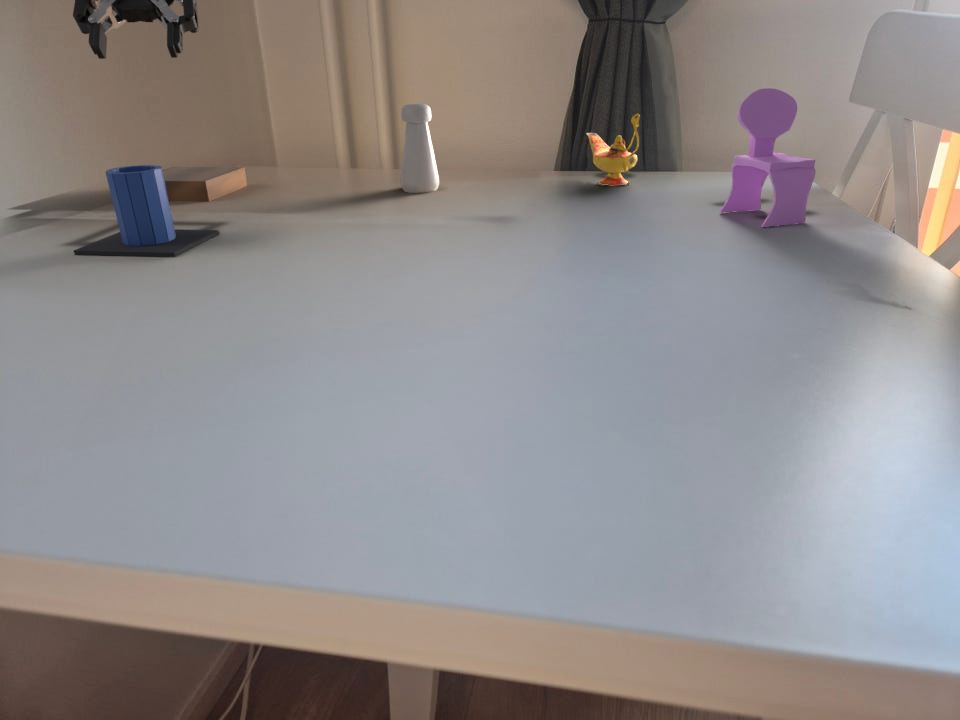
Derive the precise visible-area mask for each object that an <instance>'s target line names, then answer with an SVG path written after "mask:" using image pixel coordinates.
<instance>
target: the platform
mask: <svg viewBox="0 0 960 720" xmlns="http://www.w3.org/2000/svg"><path fill="white" fill-rule="evenodd" d="M245 169H246V168H245V167H244V166H170V167H167V168H164V169H162V172H163V177H164V181H165V186H166V191H167V196H168V200H169V202H199V203H201V202H202V203H203V202H204V203H205V202H206V203H210V202H212V201H215V200H217V199H219V198H221V197H224V196H226V195H228V194H232V193H234V192H236V191H238V190H241V189H243V188H246V187H247V186H248V183H247V176H246V170H245Z"/></svg>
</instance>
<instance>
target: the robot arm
mask: <svg viewBox="0 0 960 720" xmlns="http://www.w3.org/2000/svg"><path fill="white" fill-rule="evenodd" d="M175 1H176V2H178V4H179V6H181V7H183V14H182V15H178V14H177V13H176V12H175V11H174V10H173V9H172V8H171V6H173V4H174V3H175ZM197 3H198V2H197V0H74V3H73V4H74V5H73V12H72V17H73V19H74V21H75V23H76V24H77V27H78V29H79V30H80V32H81V33H82V34H84V35H88V45H89V47H90V49H91V50H92V52H93V54H94V55H96V56H97V57H98V59H99V60H105V59H107V48H108V47H107V46H108V37H107V35H109V33H111V31H113V30H118V29H120V28H121V27H122V26H123V25H125V23H126V22H127V23H138V22H139V23H140V22H143V23H154V21H156V20H157V21H158V23H160V24H161V26H163V27H164V28H165V29H166V47H167V50H168V53H169V55H170V58H171V59H173V58H175V59H177V58H179V54H182V53H183V50H184V35H185V33H187V32H190V33H191V34H192V33H193V34H197V33H198V32H199V30H200V27H199V26H200V25H199V16H198V5H197ZM114 13H115V14H114ZM102 21H103V22H102Z"/></svg>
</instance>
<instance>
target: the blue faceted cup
mask: <svg viewBox="0 0 960 720" xmlns="http://www.w3.org/2000/svg"><path fill="white" fill-rule="evenodd" d="M162 170H163V167H162V166H161V165H156V164H139V165H127V166H118V167H113V168H109V169H107V170H106V171H105V176H106V180H107V185H108V188H109V193H110V197H111V201H112V205H113V208H114V213H115V217H116V221H117V225H118V229H119V232H120V234H121V238H122V242H123V244H125V245H129V246H148V245H156V244H161V243H165V242H169V241H171V240H173V239H175V238H176V234H175V224H174V220H173V215H172V210H171V205H170V201H169V200H168V196H167V191H166V186H165V181H164V177H163V172H162Z"/></svg>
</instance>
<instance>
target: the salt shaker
mask: <svg viewBox="0 0 960 720" xmlns="http://www.w3.org/2000/svg"><path fill="white" fill-rule="evenodd" d="M400 115H401V120H402V122H403V123H405V131H404V139H403V141H404V143H403V150H402V160H401V168H400V169H401V170H400V180H399V182H400V186H401V188H402V190H403V191H404V192H406V193H412V194H423V193H431V192H435V191H437V190H438V189H439V186H440V176H439V172H438V171H439V170H438V167H437V162H436V156H435V152H434V147H433V143H432V138H431V133H430V127H429V122H431V121H432V110H431V107H430V106H429V105H428V104H425V103H408V104H405V105H403V106H402V108H401V112H400Z"/></svg>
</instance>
